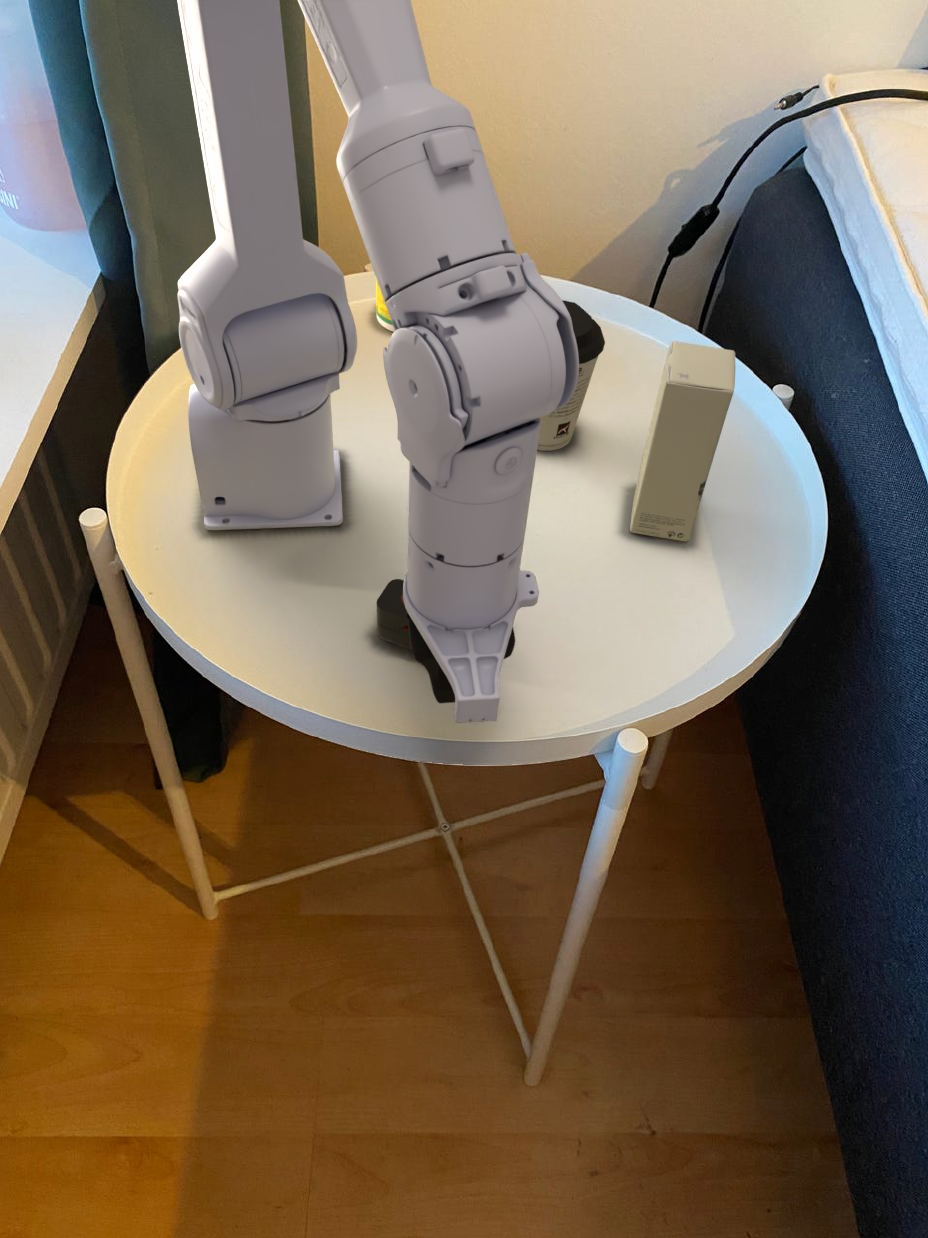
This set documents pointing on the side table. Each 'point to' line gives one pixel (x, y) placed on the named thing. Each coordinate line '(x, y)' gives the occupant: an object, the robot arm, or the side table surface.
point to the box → (682, 439)
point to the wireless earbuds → (393, 615)
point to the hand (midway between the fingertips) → (453, 693)
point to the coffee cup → (589, 345)
